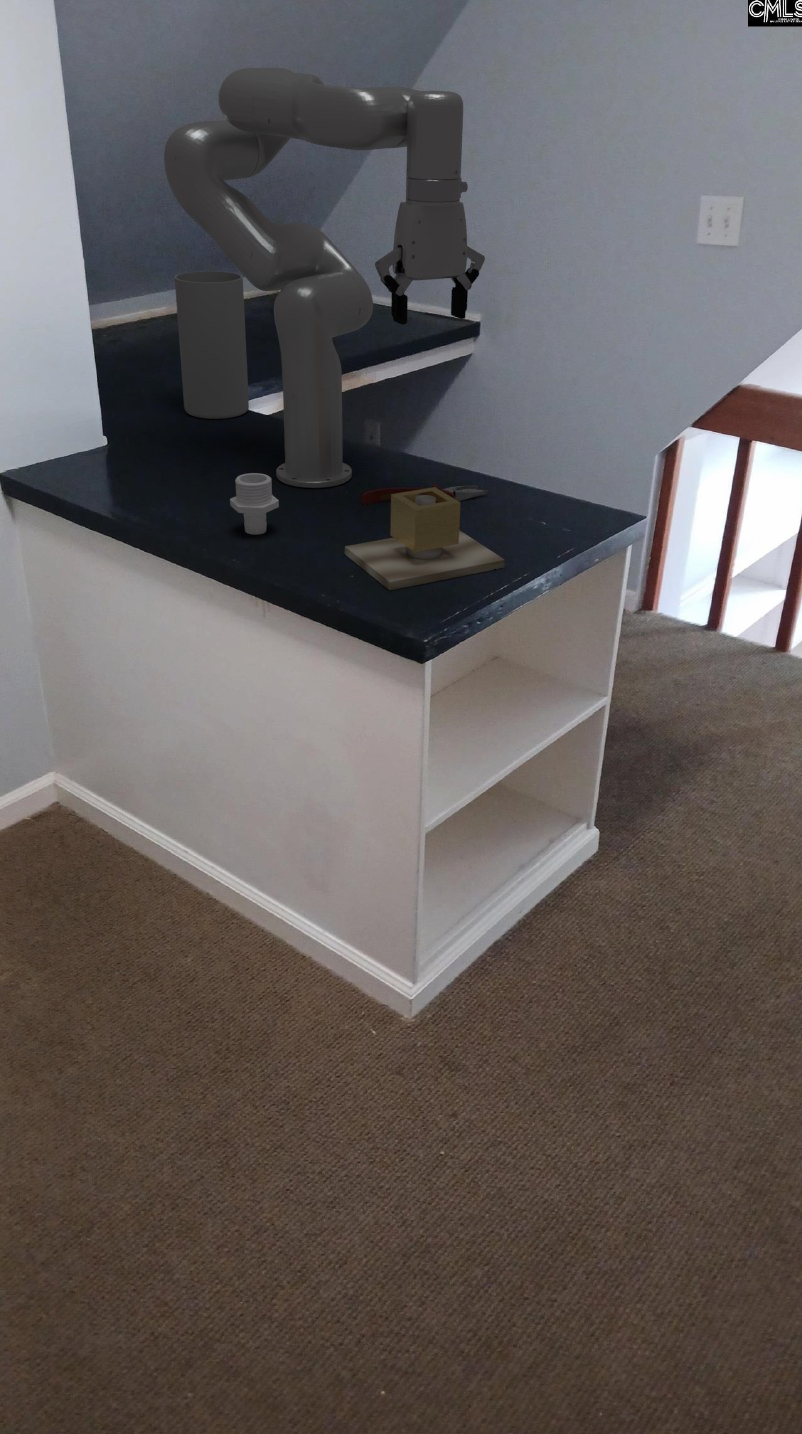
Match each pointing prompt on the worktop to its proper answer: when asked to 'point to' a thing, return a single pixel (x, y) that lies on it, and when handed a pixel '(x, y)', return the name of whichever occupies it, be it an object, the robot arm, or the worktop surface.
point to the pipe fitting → (254, 501)
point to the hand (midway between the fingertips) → (429, 320)
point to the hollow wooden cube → (425, 520)
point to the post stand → (422, 559)
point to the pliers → (454, 492)
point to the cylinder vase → (212, 343)
